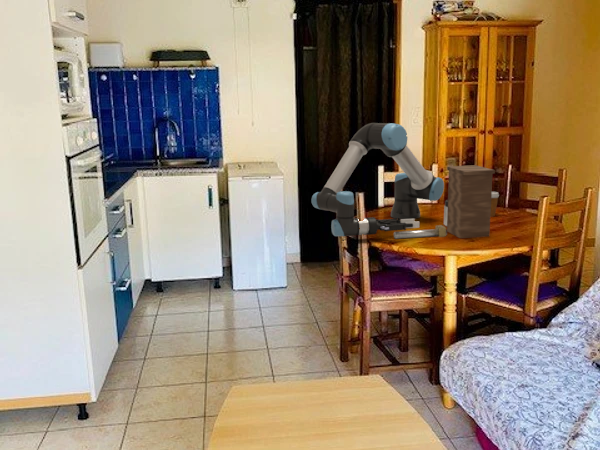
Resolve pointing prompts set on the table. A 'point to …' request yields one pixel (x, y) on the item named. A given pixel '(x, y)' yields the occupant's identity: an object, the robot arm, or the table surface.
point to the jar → (445, 212)
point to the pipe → (422, 233)
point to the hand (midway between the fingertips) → (416, 223)
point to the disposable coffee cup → (494, 202)
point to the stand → (469, 201)
